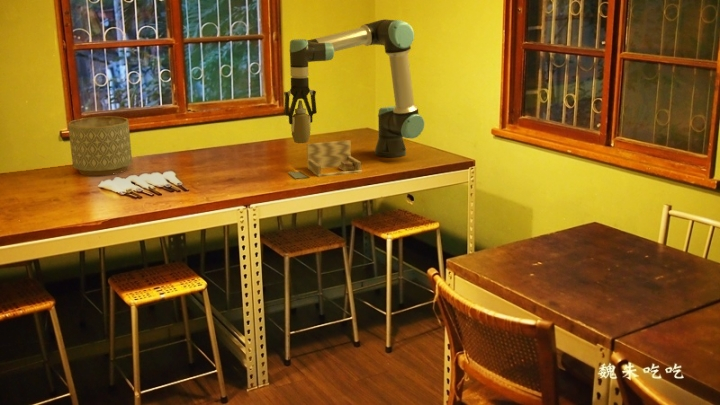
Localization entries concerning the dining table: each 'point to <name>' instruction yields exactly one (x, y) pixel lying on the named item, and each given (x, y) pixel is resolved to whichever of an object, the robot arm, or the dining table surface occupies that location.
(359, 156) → the dining table surface
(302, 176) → the mat
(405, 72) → the robot arm
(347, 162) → the offcut top
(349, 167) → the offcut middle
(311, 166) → the rack
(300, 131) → the squeeze bottle
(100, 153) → the planter
